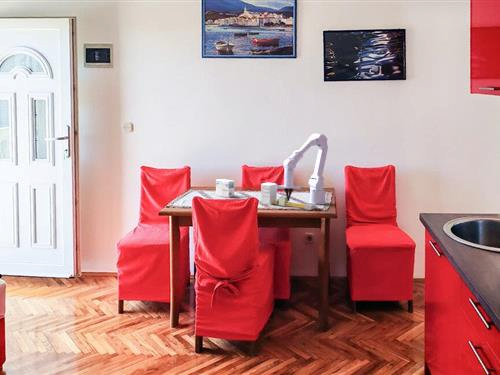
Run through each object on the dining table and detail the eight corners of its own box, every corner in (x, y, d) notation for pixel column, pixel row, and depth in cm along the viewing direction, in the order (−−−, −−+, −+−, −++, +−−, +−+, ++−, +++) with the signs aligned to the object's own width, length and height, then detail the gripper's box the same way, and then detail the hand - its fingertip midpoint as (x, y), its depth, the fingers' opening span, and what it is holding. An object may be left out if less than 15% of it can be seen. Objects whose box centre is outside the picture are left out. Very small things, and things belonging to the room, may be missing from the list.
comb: (315, 207, 387) (315, 203, 386) (311, 209, 380) (311, 205, 380) (309, 206, 389) (309, 202, 388) (304, 209, 382) (305, 204, 382)
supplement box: (267, 201, 403) (267, 182, 401) (276, 203, 398) (277, 183, 396) (260, 203, 397) (260, 183, 395) (269, 205, 392) (270, 185, 390)
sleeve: (287, 204, 394) (288, 196, 393) (284, 205, 390) (284, 198, 389) (281, 203, 396) (282, 196, 395) (278, 205, 392) (278, 197, 391)
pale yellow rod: (311, 207, 386) (311, 202, 385) (309, 208, 383) (309, 203, 382) (276, 203, 397) (276, 198, 396) (273, 204, 394) (273, 198, 393)
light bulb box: (234, 196, 420) (234, 180, 418) (228, 197, 414) (228, 181, 412) (221, 194, 425) (221, 178, 423) (215, 195, 420) (215, 179, 418)
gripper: (300, 178, 392) (300, 199, 394) (277, 177, 393) (276, 199, 395) (300, 180, 385) (300, 201, 387) (277, 179, 386) (276, 201, 388)
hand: (288, 200), depth 391 cm, fingers closed
